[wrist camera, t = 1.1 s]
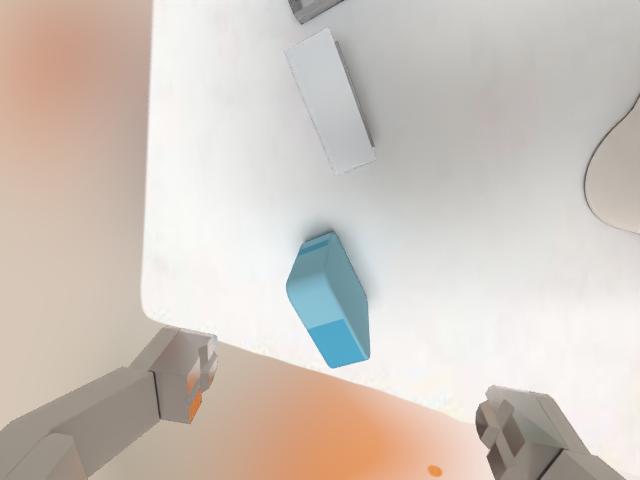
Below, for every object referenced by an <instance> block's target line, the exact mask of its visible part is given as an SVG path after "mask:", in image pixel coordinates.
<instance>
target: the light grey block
mask: <svg viewBox="0 0 640 480" xmlns="http://www.w3.org/2000/svg"><path fill="white" fill-rule="evenodd" d="M284 53H285V56H286V58H287V61H288V63H289V66H290V68H291V70H292V73H293V75H294V78H295V80H296V82H297V85H298V87H299V90H300V92H301V95H302V97H303V99H304V102H305V104H306V107H307V109H308V111H309V114H310V116H311V119H312V121H313V123H314V126H315V128H316V131H317V133H318V136H319V138H320V140H321V143H322V145H323V148H324V150H325V152H326V155H327V157H328V160H329V162H330V165H331V167H332V169H333V172H334V174H335V176H337V175H340V174H342V173H345V172H347V171H350V170H352V169H355V168H357V167H359V166H362V165H364V164H367V163H369V162H372V161H374V160H376V157H375V154H374V151H373V148H372V147H375V146H374V143H373V140H372V138H371V135H370V132H369V129H368V126H367V123H366V121H365V118H364V115H363V112H362V109H361V106H360V104H359V101H358V98H357V95H356V92H355V89H354V87H353V84H352V81H351V78H350V75H349V72H348V70H347V67H346V64H345V61H344V58H343V56H342V53H341V50H340V47H339V44H338V41H336V42H335V41H334V39H333V36H332V34H331V31H330V28H329V27H327V28H325V29H324V30H322V31H320V32H318V33H316V34H315V35H313V36H311V37H309V38H307V39H305V40H304V41H302V42H300V43H298V44H296V45H295V46H293V47H291V48H289V49H287V50H286V51H284Z"/></svg>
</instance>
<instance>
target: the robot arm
mask: <svg viewBox="0 0 640 480" xmlns="http://www.w3.org/2000/svg"><path fill="white" fill-rule="evenodd" d="M585 193H586V198H587V202H588V204H589V206H590V208H591V210H592V212H593V213H594V214H595V215H596V216H597V217H598V218H599V219H600V220H601V221H603V222H604V223H606V224H608V225H610V226H612V227H615V228H618V229H622V230H627V231H631V232H635V233H639V234H640V97H639V99H638V101H637V103H636V104H635V106H634V108H633V109H632V111H631V112H630V113H629V114H628V115H627V116H626V117H625V118H624V119H623V120H622V121H621V122H620V123H619V124H618V125H617V126H616V127H615V128H614V129H613V130H612V131H611V132H610V133H609V134H608V135H607V137H606V138H605V139H604V140H603V142H602V143H601V144H600V146H599V147H598V149H597V151H596V152H595V154H594V156H593V158H592V160H591V162H590V165H589V168H588V171H587V175H586V181H585ZM216 346H217V336H216V335H213V334H209V333H204V332H199V331H194V330H189V329H185V328H178V327H174V326H169V325H167V326H165V327H163V328H162V329H161V330H160V331H159V332H158V333H157V334H156V336H155V337H154V338H153V339H152V340H151V341H150V343H149V344H148V345H147V346H146V347H145V348H144V350H143V351H142V352H141V353H140V354H139V355H138V356H137V358H136V359H135V360H134V361H133V362H132V363H131V365H130V366H129V367H121V368H119V369H117V370H115V371H113V372H111V373H109V374H107V375H105V376H102V377H101V378H98V379H96V380H95V381H92V382H90V383H88V384H86V385H84V386H82V387H80V388H78V389H76V390H74V391H72V392H70V393H68V394H66V395H64V396H62V397H60V398H58V399H56V400H54V401H52V402H50V403H47V404H46V405H43V406H41V407H39V408H37V409H36V410H33V411H31V412H29V413H27V414H25V415H23V416H21V417H19V418H17V419H15V420H13V421H11V422H10V423H9V424H8V425H7V426H6V427H5V428H3V429H2V430H1V431H0V480H88V479H87V478H88V477H90V476H91V475H92V474H94V473H95V472H96V471H97V470H99V469H100V468H101V467H102V466H104V465H105V464H106V463H107V462H109V461H110V460H111V459H113V458H114V457H115V456H116V455H118V454H119V453H120V452H121V451H123V450H124V449H125V448H127V447H128V446H129V445H130V444H132V443H133V442H134V441H135V440H137V439H138V438H139V437H140V436H142V435H143V434H144V433H145V432H147V431H148V430H149V429H150V428H152V427H153V426H154V425H156V424H157V423H158V422H159V421H160V419H162V420H168V421H174V422H180V423H186V424H191V422H192V420H193V418H194V416H195V414H196V412H197V410H198V408H199V406H200V405H201V402H202V396H201V393H203V392H204V391H205V390H207V389H208V388H209V387H210V385H211V383H212V381H213V378H214V375H215V372H216V369H217V362H218V361H217V360H218V359H217V358H218V356H217V354H216V353H215V352H214V350H215V348H216ZM486 396H487V399H488V400H487V401H485V402H483V403H481V404H480V405H479V407H478V409H477V411H476V421H475V423H476V428H477V432H478V435H479V438H480V440H481V441H482V442H483V443H484V444H485V445H486V447H487V448H488V449H489V451H488V454H487V459H488V462H489V464H490V467H491V470H492V473H493V475H494V478H495V480H626V479H625V478H624V477H622V476H621V475H620V474H619V473H617V472H616V471H615V470H614V469H613V468H611V467H610V466H609V465H608V464H606V463H605V462H604V461H603V460H602V459H600V458H599V457H598V456H595V455H591V454H590V452H589V451H588V449H587V448H586V446H585V445H584V443H583V442H582V440H581V439H580V437H579V436H578V435H577V433H576V432H575V430H574V429H573V427H572V426H571V424H570V423H569V421H568V420H567V418H566V417H565V415H564V414H563V412H562V411H561V409H560V408H559V406H558V405H557V404H556V402H555V401H554V399H553V398H552V397H550V396H549V395H547V394H541V393H536V392H530V391H529V392H528V391H524V390H518V389H513V388H507V387H501V386H495V385H492V386H491V387H489V388H488V390H487V392H486Z"/></svg>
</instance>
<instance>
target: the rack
mask: <svg viewBox="0 0 640 480" xmlns="http://www.w3.org/2000/svg"><path fill="white" fill-rule="evenodd" d="M288 1H289V4H290V6H291V9H292V11H293V14H294V15H295V17H296V18H297V19H298V21H299V22H300V24H303V23H305V22H307V21H308V20H310V19H312V18H314V17H315V16H317V15H319V14H321V13H322V12H324V11H326V10H328V9H329V8H331V7H333V6H335V5H336V4H338V3H340V2H342V1H343V0H288Z"/></svg>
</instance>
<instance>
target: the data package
mask: <svg viewBox="0 0 640 480" xmlns="http://www.w3.org/2000/svg"><path fill="white" fill-rule="evenodd" d="M286 291H287V295H288V298H289V300H290V302H291V304H292V306H293V307H294V309H295V311H296V312H297V314H298V316H299V317H300V319H301V321H302V322H303V324H304V326H305V328H306V329H307V331H308V333H309V334H310V336H311V338H312V339H313V341H314V343H315V344H316V346H317V348H318V349H319V351H320V353H321V354H322V356H323V358H324V360H325V361H326V363H327V365H328V366H329V367H330V368H337V367H341V366H345V365H349V364H353V363H357V362H361V361H365V360H368V359H369V358H370V339H369V317H368V302H367V298H366V295H365V293H364V291H363V288H362V286H361V284H360V282H359V280H358V278H357V276H356V274H355V272H354V270H353V268H352V266H351V264H350V262H349V259H348V257H347V255H346V253H345V251H344V249H343V247H342V245H341V243H340V241H339V239H338V237H337V235H336V234H335V233H334V232H331V233H328V234H325V235H323V236H320V237H318V238H315V239H313V240H310V241H307V242H305V243H303V244H302V245H301V248H300V250H299V253H298V255H297V258H296V260H295V263H294V265H293V268H292V270H291V273H290V275H289V278H288V280H287V283H286Z"/></svg>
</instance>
